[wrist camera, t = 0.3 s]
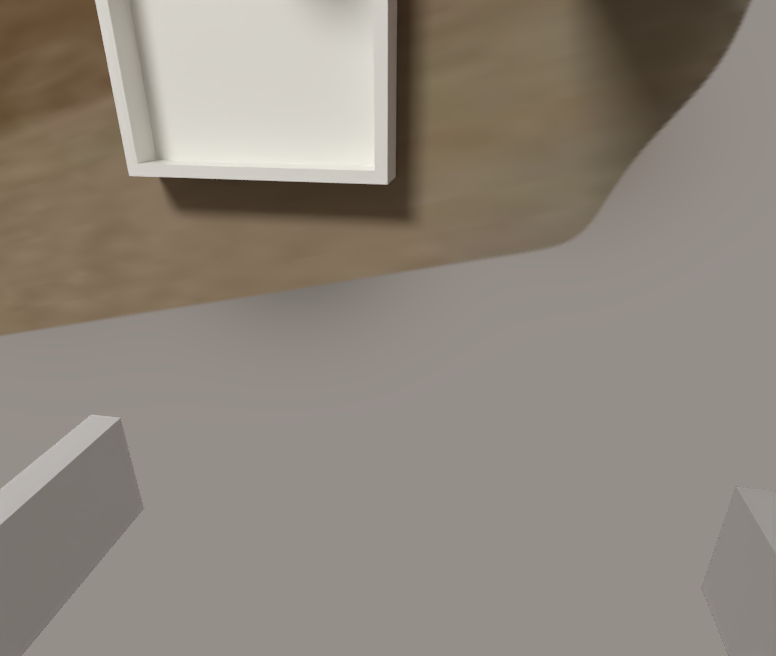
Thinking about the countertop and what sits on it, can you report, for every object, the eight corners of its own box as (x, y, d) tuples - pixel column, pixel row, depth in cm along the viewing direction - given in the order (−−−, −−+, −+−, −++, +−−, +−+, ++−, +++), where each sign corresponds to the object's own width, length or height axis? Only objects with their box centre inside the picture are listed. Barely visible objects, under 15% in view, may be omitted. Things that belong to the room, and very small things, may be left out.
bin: (115, -60, 33) (81, -73, 30) (397, -73, 30) (387, -89, 27) (155, 169, 38) (129, 175, 36) (395, 177, 35) (387, 184, 33)
